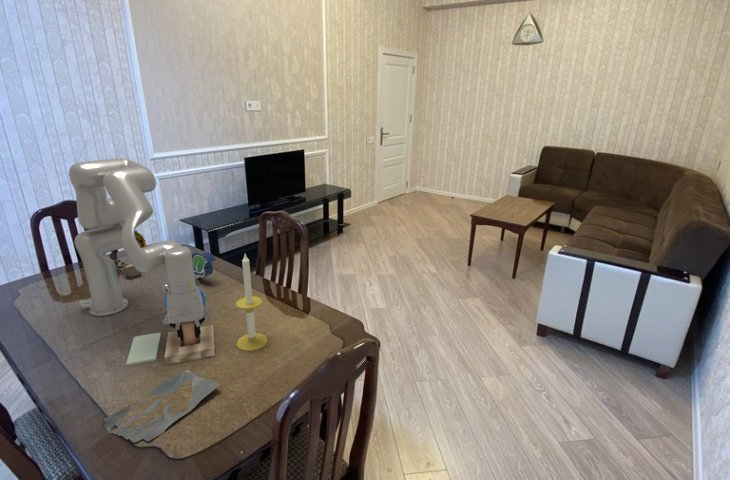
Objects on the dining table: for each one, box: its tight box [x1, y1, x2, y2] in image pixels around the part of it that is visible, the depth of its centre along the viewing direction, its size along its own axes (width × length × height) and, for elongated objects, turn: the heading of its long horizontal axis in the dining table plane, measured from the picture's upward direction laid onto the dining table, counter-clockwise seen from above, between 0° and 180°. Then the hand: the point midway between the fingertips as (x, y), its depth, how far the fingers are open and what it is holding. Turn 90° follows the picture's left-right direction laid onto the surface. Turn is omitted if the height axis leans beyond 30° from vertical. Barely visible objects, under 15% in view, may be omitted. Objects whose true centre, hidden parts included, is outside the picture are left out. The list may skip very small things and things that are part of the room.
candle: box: [235, 253, 269, 352], centre depth 126 cm, size 10×10×32 cm
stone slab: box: [102, 369, 221, 443], centre depth 103 cm, size 24×16×2 cm, turn 148°
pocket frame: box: [164, 324, 216, 366], centre depth 127 cm, size 14×14×3 cm
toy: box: [114, 259, 142, 279], centre depth 177 cm, size 7×8×15 cm
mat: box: [125, 332, 162, 367], centre depth 126 cm, size 8×15×1 cm, turn 21°
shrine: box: [135, 230, 147, 248], centre depth 189 cm, size 12×8×15 cm
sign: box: [191, 250, 217, 280], centre depth 174 cm, size 35×4×14 cm, turn 56°
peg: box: [180, 321, 199, 346], centre depth 126 cm, size 4×4×10 cm
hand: (189, 336), depth 126 cm, fingers closed on peg, 4 cm apart
